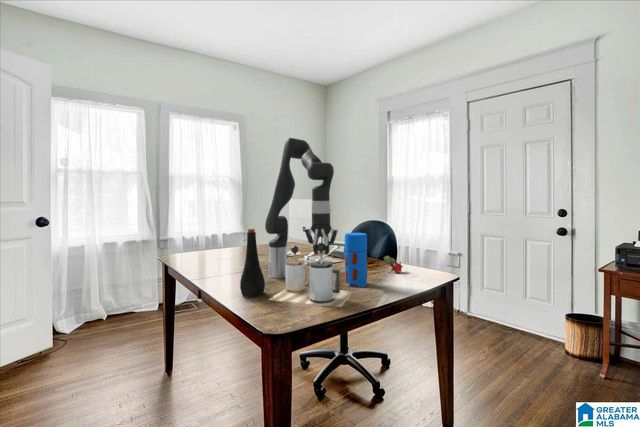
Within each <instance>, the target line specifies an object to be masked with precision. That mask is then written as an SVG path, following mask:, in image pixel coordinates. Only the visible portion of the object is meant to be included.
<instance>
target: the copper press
mask: <svg viewBox="0 0 640 427" xmlns="http://www.w3.org/2000/svg"><path fill="white" fill-rule="evenodd" d="M304 261H305V260H304V259H296V262H294V259H291V260H287V262H286V263H285V277H284V278H285V289H286V291H287V292H302V291H304V290H305V287H306V285H309V265H306V263H305V262H304Z"/></svg>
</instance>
